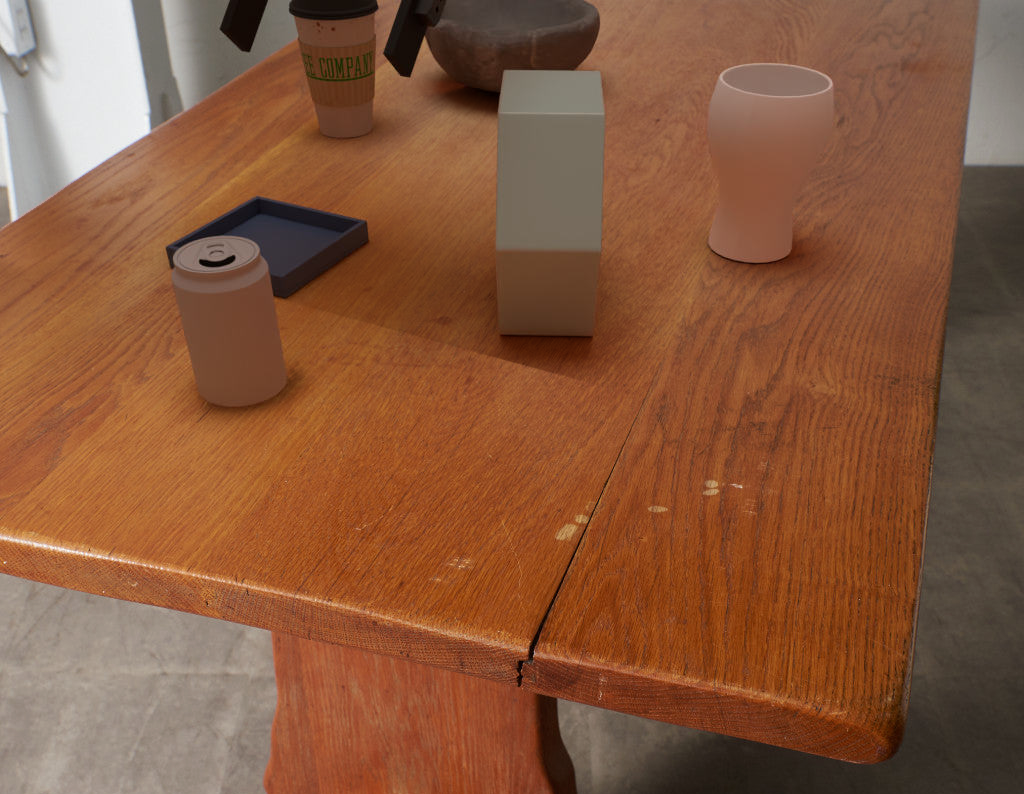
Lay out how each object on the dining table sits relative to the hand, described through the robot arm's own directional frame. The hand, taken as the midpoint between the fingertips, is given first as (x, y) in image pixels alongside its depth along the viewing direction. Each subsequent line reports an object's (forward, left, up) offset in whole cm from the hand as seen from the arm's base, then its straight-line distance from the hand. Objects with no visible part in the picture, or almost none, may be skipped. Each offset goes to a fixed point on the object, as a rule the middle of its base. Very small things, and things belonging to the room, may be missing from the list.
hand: (312, 53), depth 69 cm
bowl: (-17, +62, -22) cm, 68 cm away
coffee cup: (-27, +39, -22) cm, 53 cm away
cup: (+25, +30, -22) cm, 45 cm away
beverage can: (0, -13, -22) cm, 25 cm away
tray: (-14, +8, -21) cm, 27 cm away
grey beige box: (+13, +11, -22) cm, 28 cm away
